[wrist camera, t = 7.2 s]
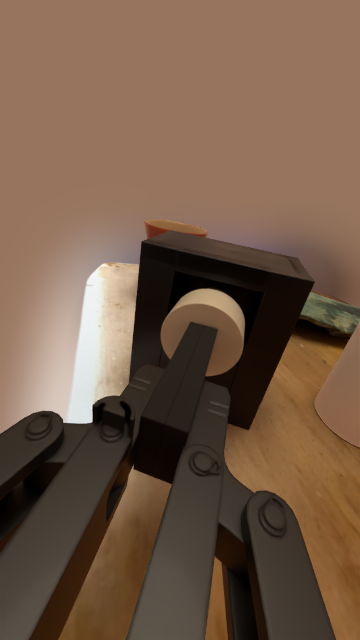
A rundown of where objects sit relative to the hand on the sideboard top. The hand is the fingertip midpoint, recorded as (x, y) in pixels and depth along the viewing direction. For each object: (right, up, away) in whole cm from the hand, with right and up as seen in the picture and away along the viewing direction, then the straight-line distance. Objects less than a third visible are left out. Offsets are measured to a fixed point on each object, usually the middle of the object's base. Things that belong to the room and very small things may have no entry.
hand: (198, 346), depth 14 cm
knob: (+1, 0, +4) cm, 4 cm away
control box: (0, -4, +9) cm, 10 cm away
